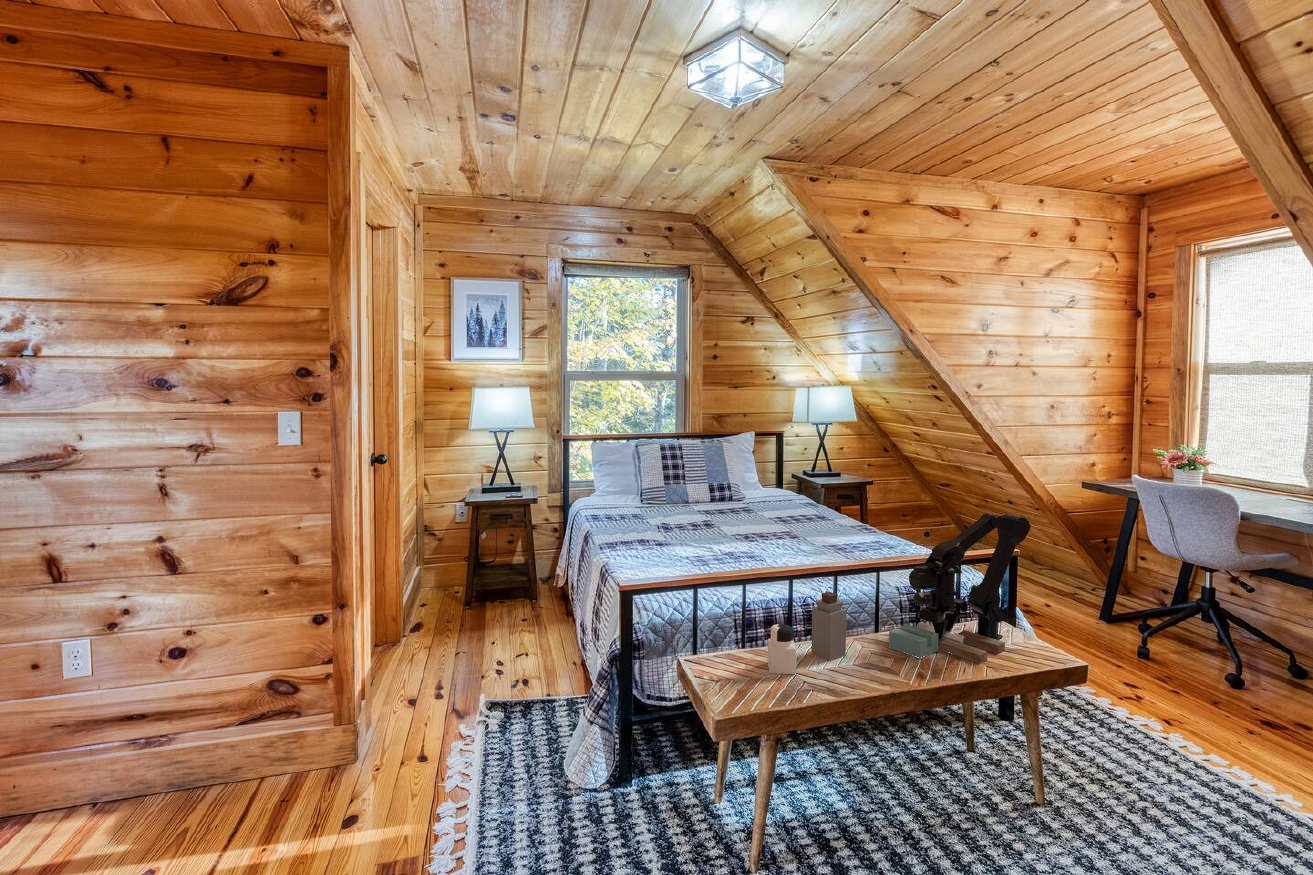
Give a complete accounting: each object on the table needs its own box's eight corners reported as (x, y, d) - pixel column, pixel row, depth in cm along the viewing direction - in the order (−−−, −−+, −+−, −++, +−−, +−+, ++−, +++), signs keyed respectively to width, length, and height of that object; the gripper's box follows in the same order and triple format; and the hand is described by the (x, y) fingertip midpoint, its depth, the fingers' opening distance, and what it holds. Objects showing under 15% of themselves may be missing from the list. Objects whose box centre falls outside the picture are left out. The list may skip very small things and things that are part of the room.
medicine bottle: (793, 663, 178) (793, 621, 177) (796, 674, 171) (796, 631, 170) (767, 662, 178) (767, 621, 178) (769, 673, 171) (769, 630, 170)
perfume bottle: (845, 655, 183) (846, 594, 182) (829, 661, 179) (830, 599, 178) (827, 647, 189) (828, 588, 187) (811, 653, 185) (812, 592, 183)
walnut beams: (964, 637, 196) (964, 630, 196) (1004, 650, 187) (1005, 642, 186) (939, 649, 187) (939, 641, 187) (980, 663, 178) (980, 655, 177)
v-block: (906, 639, 194) (907, 623, 194) (937, 650, 187) (938, 633, 186) (888, 647, 189) (889, 631, 188) (920, 658, 181) (920, 641, 180)
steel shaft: (916, 634, 199) (916, 623, 199) (922, 631, 201) (922, 620, 201) (960, 648, 188) (960, 637, 188) (966, 645, 190) (966, 634, 190)
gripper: (934, 575, 205) (933, 622, 206) (902, 586, 193) (901, 636, 195) (969, 584, 196) (967, 633, 197) (937, 596, 185) (936, 648, 186)
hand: (942, 637), depth 194 cm, fingers closed on steel shaft, 4 cm apart
